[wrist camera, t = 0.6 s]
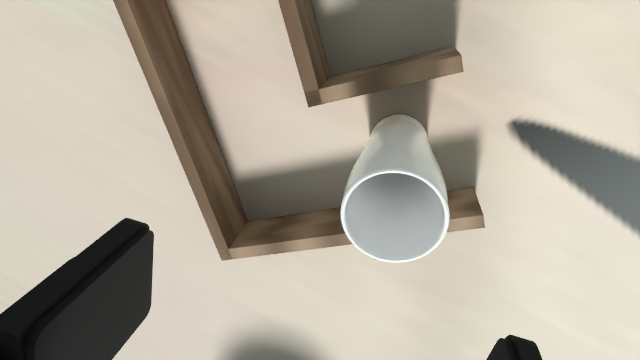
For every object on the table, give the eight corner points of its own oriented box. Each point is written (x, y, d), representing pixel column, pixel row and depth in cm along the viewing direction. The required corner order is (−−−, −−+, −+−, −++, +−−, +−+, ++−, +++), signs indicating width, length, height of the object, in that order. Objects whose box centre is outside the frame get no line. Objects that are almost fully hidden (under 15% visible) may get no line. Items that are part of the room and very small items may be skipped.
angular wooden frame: (424, -152, 29) (428, -183, 24) (475, 198, 39) (484, 227, 34) (136, -41, 36) (93, -46, 31) (241, 232, 46) (221, 260, 41)
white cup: (349, 126, 39) (318, 195, 25) (415, 91, 36) (419, 147, 23) (383, 184, 40) (371, 278, 27) (448, 154, 38) (470, 241, 24)
